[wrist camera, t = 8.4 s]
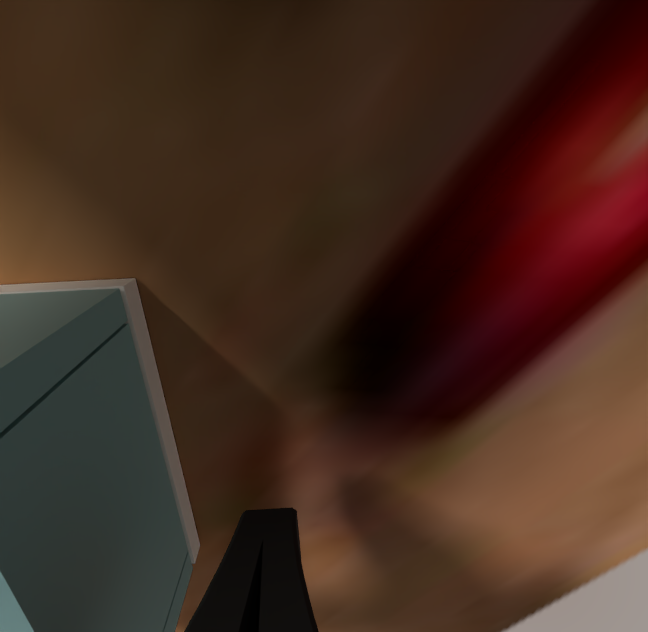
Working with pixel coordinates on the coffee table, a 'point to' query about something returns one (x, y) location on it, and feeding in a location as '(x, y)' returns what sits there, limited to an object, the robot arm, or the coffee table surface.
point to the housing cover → (82, 474)
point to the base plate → (150, 380)
